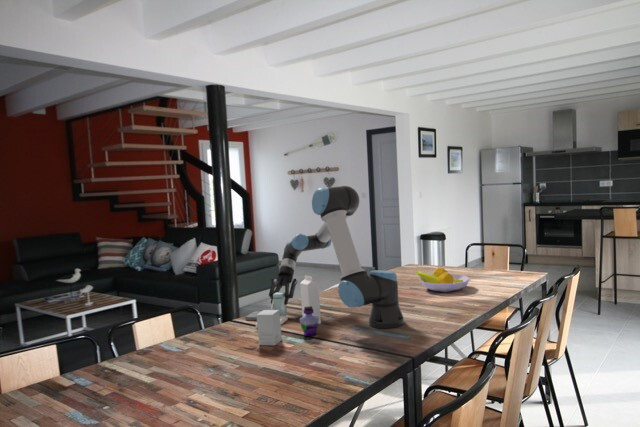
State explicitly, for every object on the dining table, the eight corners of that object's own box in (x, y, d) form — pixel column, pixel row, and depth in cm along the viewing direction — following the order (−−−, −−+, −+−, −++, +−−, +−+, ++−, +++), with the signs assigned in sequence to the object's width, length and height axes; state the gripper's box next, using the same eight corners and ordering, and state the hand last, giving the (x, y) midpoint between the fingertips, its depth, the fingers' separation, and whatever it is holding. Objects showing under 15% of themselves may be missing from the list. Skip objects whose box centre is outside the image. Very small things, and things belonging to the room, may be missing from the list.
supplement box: (282, 339, 197) (280, 309, 196) (275, 346, 190) (272, 314, 189) (266, 339, 199) (263, 309, 199) (258, 345, 192) (255, 314, 192)
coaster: (254, 314, 241) (254, 311, 241) (272, 314, 238) (272, 311, 238) (245, 319, 231) (245, 316, 231) (264, 320, 228) (264, 317, 228)
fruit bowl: (475, 285, 269) (474, 265, 268) (461, 296, 246) (460, 274, 245) (427, 282, 284) (426, 263, 283) (409, 293, 261) (408, 272, 260)
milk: (310, 326, 212) (306, 277, 211) (302, 324, 217) (298, 276, 216) (321, 323, 216) (317, 275, 215) (313, 321, 221) (309, 273, 219)
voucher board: (268, 319, 230) (267, 314, 230) (287, 319, 227) (287, 314, 227) (255, 328, 216) (255, 323, 216) (276, 328, 213) (275, 323, 213)
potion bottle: (296, 337, 199) (294, 308, 198) (304, 330, 207) (302, 303, 206) (316, 338, 196) (314, 309, 195) (323, 331, 204) (321, 303, 203)
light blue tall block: (278, 314, 235) (276, 292, 234) (286, 314, 233) (285, 292, 233) (274, 317, 230) (272, 294, 230) (283, 317, 229) (281, 294, 228)
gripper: (305, 273, 243) (296, 314, 228) (273, 273, 248) (263, 314, 233) (301, 264, 238) (292, 306, 223) (268, 265, 243) (257, 306, 228)
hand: (277, 310), depth 228 cm, fingers closed on light blue tall block, 4 cm apart
